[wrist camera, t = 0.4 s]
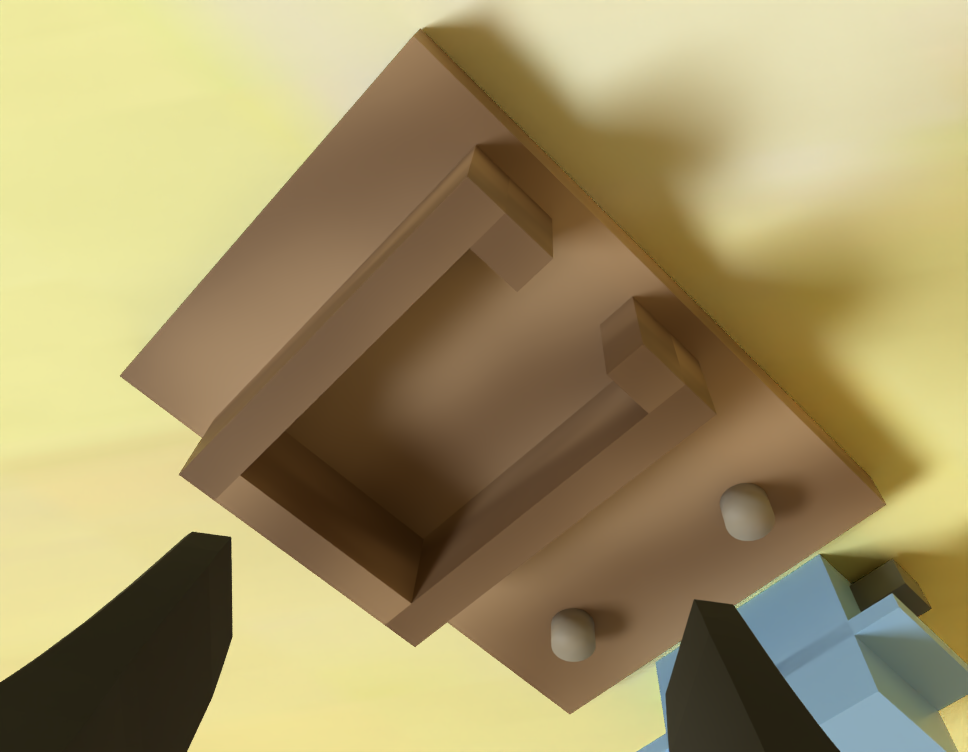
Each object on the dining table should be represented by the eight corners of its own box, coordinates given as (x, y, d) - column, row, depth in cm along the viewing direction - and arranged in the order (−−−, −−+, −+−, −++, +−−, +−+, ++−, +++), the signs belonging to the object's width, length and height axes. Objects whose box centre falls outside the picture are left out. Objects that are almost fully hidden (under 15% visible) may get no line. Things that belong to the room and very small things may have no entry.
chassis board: (870, 477, 24) (923, 570, 20) (568, 683, 28) (572, 787, 24) (420, 28, 19) (394, 53, 16) (138, 354, 23) (72, 428, 20)
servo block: (861, 524, 24) (944, 684, 19) (937, 597, 25) (1034, 768, 20) (623, 682, 28) (641, 854, 23) (699, 742, 29) (733, 919, 24)
